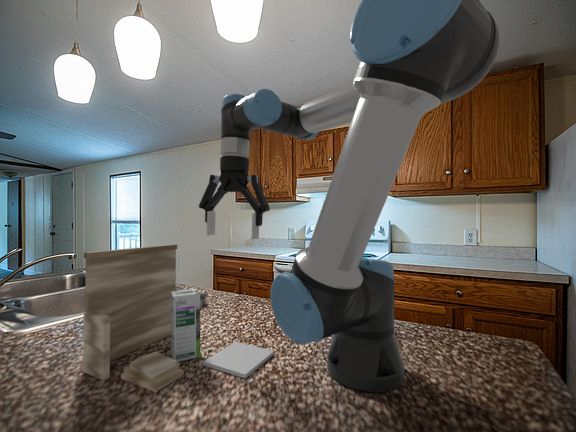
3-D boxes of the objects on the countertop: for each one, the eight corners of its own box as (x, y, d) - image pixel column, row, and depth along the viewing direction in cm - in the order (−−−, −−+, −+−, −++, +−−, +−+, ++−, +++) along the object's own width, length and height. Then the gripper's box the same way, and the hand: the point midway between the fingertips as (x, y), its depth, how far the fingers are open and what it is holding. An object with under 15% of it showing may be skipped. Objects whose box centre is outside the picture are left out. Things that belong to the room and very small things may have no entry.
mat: (273, 354, 64) (273, 351, 64) (245, 378, 54) (245, 374, 54) (235, 344, 69) (235, 341, 69) (203, 365, 59) (203, 361, 59)
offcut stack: (184, 375, 56) (184, 357, 56) (155, 394, 50) (155, 374, 50) (151, 364, 61) (151, 347, 61) (120, 380, 55) (121, 361, 55)
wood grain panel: (193, 336, 74) (193, 245, 74) (103, 380, 54) (104, 254, 54) (172, 331, 78) (172, 244, 78) (80, 370, 57) (81, 252, 58)
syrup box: (173, 364, 60) (173, 296, 60) (170, 352, 65) (170, 290, 65) (200, 357, 63) (200, 292, 63) (195, 347, 68) (195, 287, 68)
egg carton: (208, 304, 104) (209, 293, 104) (198, 310, 97) (198, 298, 97) (183, 302, 106) (183, 291, 106) (171, 308, 99) (171, 296, 99)
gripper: (283, 158, 73) (280, 238, 74) (204, 160, 82) (202, 232, 82) (272, 153, 66) (269, 241, 67) (186, 155, 75) (184, 234, 75)
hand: (232, 236), depth 75 cm, fingers open, 13 cm apart
